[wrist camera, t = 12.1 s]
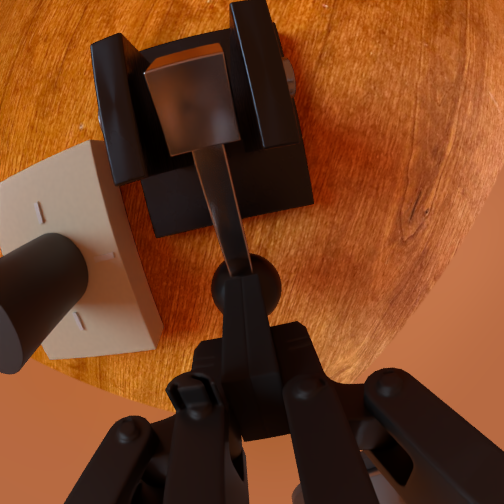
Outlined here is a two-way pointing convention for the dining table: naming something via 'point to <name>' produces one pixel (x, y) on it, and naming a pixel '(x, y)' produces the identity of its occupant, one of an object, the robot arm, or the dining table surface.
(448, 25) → the dining table surface
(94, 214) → the dial panel
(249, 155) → the lever bracket
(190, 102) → the ball knob lever
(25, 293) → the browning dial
